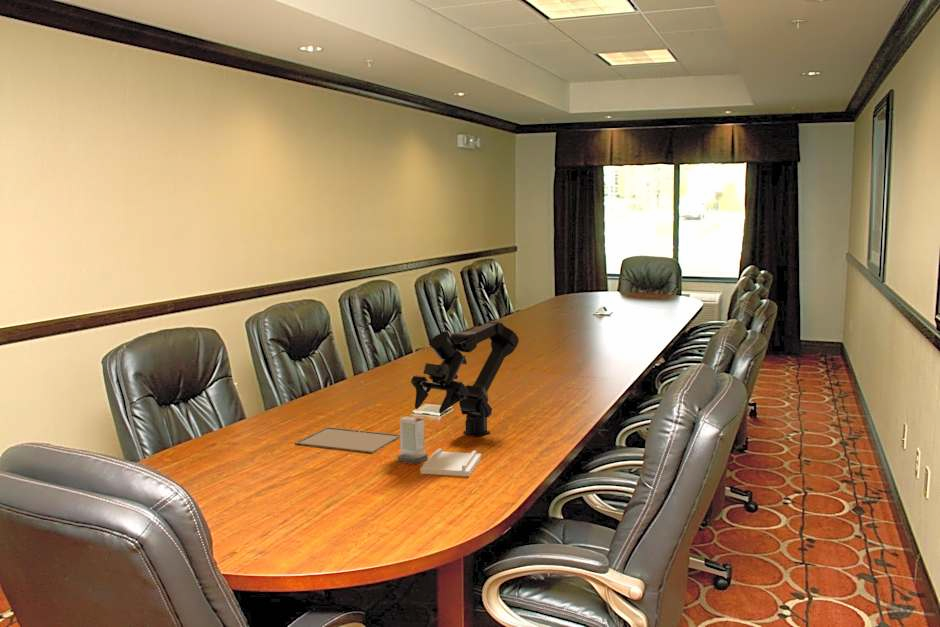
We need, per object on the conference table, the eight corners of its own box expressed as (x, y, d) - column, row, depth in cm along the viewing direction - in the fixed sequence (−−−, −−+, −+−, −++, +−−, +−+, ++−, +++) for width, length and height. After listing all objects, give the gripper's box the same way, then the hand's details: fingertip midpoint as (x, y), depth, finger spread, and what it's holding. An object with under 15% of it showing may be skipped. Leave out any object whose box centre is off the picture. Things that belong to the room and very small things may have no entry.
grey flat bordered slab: (401, 437, 270) (327, 430, 280) (401, 434, 270) (327, 427, 280) (373, 454, 252) (294, 445, 263) (372, 451, 252) (294, 442, 263)
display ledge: (435, 456, 249) (435, 447, 249) (481, 458, 246) (481, 449, 246) (420, 473, 234) (420, 464, 233) (469, 476, 230) (468, 467, 230)
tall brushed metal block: (410, 455, 250) (409, 415, 248) (427, 459, 246) (426, 418, 244) (397, 460, 245) (396, 419, 243) (414, 464, 241) (413, 422, 240)
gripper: (413, 349, 257) (391, 391, 250) (462, 355, 246) (440, 399, 239) (429, 370, 265) (408, 411, 257) (478, 377, 254) (457, 420, 247)
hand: (427, 410), depth 250 cm, fingers open, 9 cm apart
